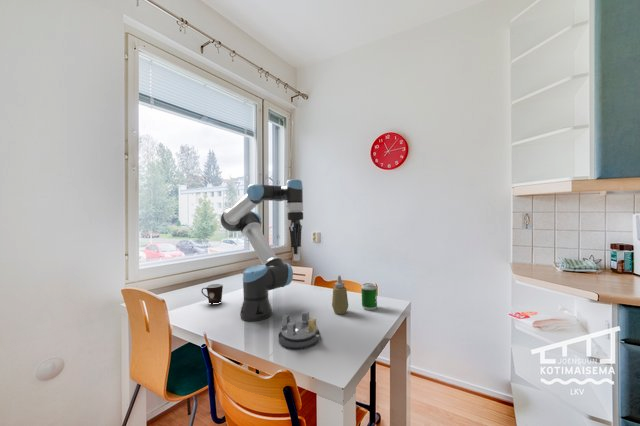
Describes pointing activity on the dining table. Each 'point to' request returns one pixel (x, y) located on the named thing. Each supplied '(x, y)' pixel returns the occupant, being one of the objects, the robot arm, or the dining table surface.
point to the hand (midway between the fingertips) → (296, 260)
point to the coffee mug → (214, 293)
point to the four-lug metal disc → (299, 328)
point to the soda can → (369, 296)
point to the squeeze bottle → (339, 297)
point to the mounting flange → (300, 344)
